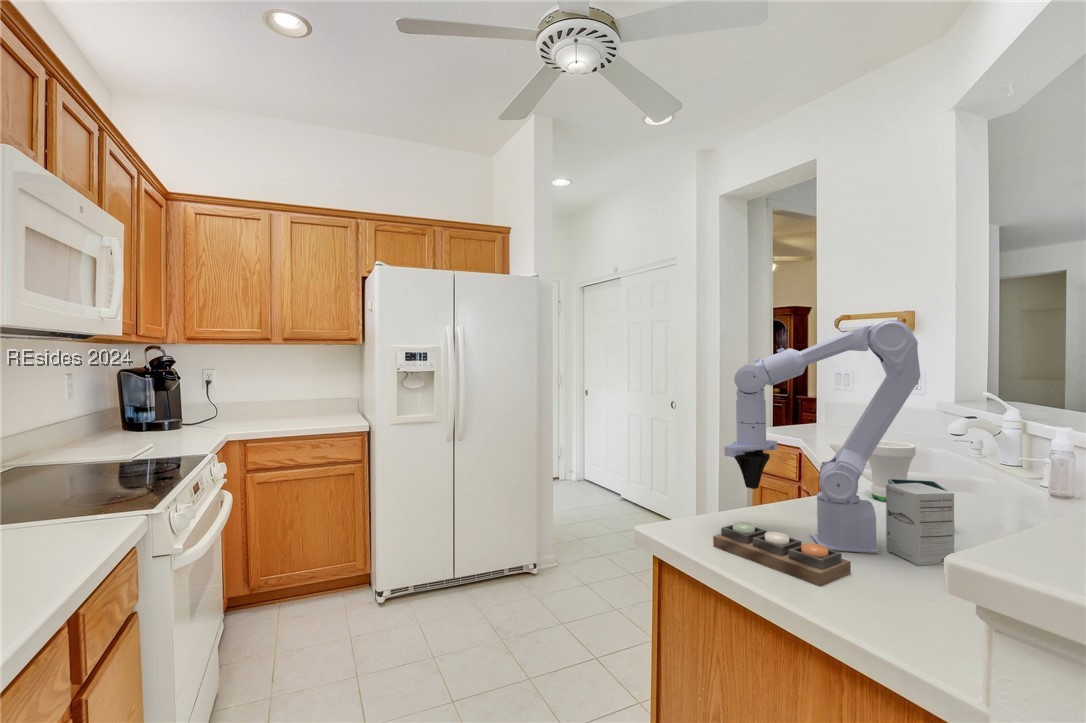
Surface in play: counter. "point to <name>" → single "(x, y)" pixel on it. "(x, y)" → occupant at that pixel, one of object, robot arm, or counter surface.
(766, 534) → the cream button
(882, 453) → the cup
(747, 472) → the robot arm
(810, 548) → the terracotta button
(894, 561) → the counter surface
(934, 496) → the supplement box
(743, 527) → the sage button
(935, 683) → the counter surface
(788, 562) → the button board
